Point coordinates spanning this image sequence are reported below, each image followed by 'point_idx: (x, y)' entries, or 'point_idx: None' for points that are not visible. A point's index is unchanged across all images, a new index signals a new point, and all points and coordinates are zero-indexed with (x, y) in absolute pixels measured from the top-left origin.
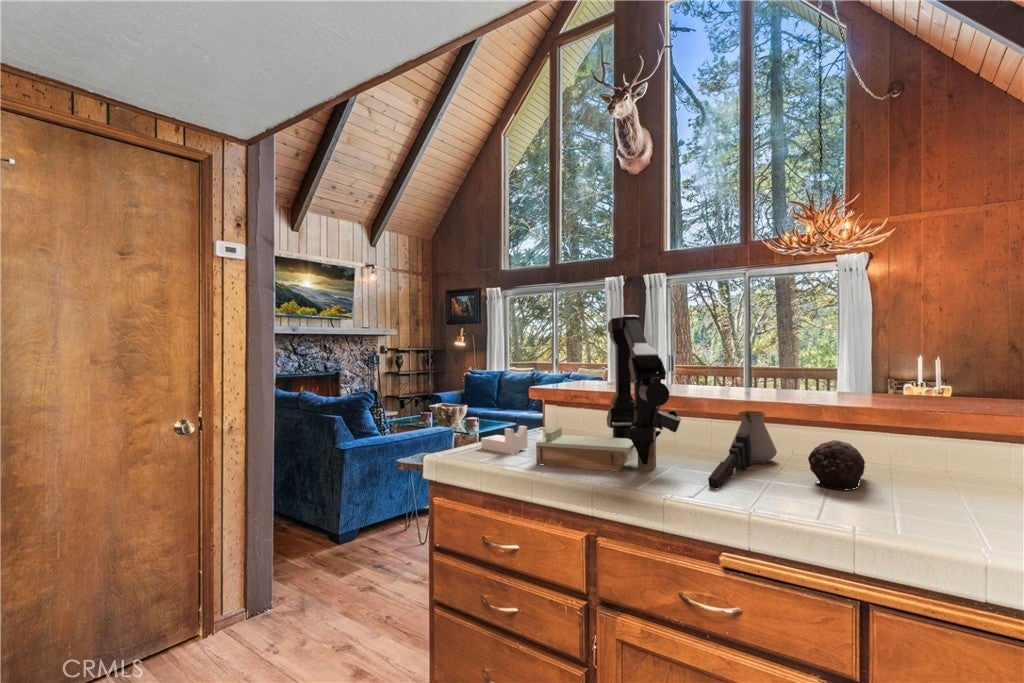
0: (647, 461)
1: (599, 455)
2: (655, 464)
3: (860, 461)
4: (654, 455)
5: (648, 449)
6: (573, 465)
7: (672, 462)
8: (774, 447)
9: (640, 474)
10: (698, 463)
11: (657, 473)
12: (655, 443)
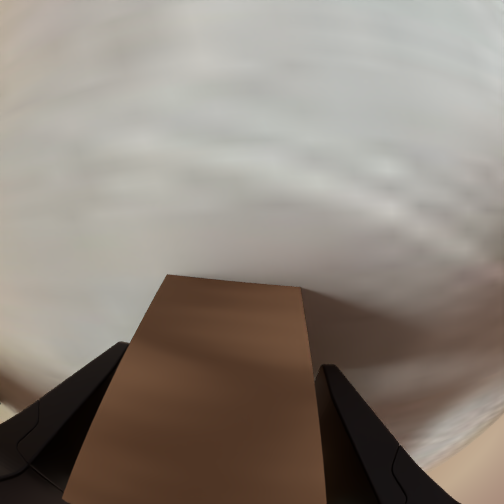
0: (347, 380)
1: None
2: (200, 294)
3: None
4: (245, 373)
5: (422, 472)
6: None
7: (13, 167)
8: None
9: (416, 347)
10: (10, 5)
11: (399, 257)
12: (103, 469)
